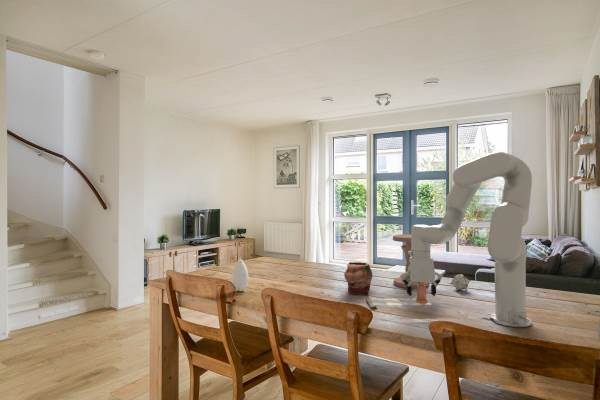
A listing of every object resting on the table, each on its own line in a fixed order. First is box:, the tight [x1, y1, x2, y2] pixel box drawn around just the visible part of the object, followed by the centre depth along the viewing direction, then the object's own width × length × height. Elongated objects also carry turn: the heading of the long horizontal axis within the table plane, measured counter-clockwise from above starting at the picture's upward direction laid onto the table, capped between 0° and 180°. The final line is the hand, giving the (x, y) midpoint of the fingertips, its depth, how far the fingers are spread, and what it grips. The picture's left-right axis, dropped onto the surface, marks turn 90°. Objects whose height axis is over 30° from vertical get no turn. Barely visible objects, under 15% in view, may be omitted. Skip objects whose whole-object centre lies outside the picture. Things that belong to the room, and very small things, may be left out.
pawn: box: [415, 283, 429, 303], centre depth 149 cm, size 5×5×10 cm
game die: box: [449, 272, 472, 293], centre depth 170 cm, size 9×8×10 cm
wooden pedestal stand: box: [392, 233, 430, 290], centre depth 183 cm, size 18×18×25 cm
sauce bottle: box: [231, 256, 250, 291], centre depth 176 cm, size 8×8×18 cm
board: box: [366, 297, 433, 310], centre depth 150 cm, size 12×26×1 cm, turn 88°
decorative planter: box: [343, 261, 373, 296], centre depth 171 cm, size 20×12×14 cm, turn 148°
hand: (421, 295), depth 149 cm, fingers open, 9 cm apart
